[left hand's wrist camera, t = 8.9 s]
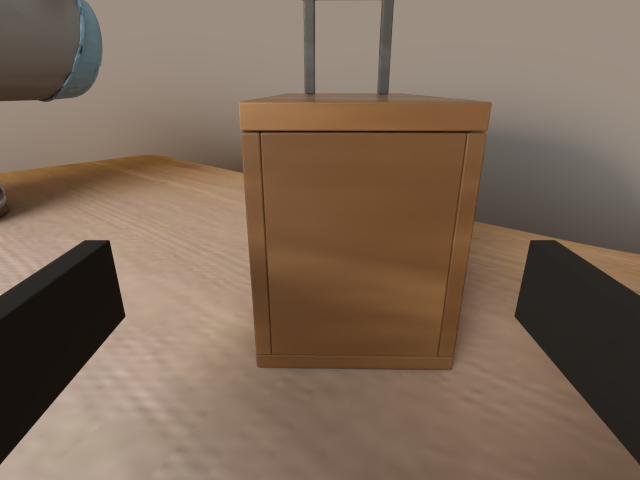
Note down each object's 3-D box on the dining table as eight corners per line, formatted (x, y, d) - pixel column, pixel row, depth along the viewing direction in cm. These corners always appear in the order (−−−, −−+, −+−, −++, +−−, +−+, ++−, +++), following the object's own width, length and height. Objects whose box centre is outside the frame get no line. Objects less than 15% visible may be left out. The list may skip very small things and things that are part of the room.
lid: (287, 107, 31) (283, -16, 28) (401, 107, 31) (410, -16, 28) (240, 130, 14) (219, -166, 11) (488, 131, 14) (533, -170, 11)
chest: (289, 236, 34) (286, 108, 30) (393, 237, 34) (403, 108, 30) (257, 367, 18) (240, 132, 14) (452, 370, 18) (488, 133, 14)
